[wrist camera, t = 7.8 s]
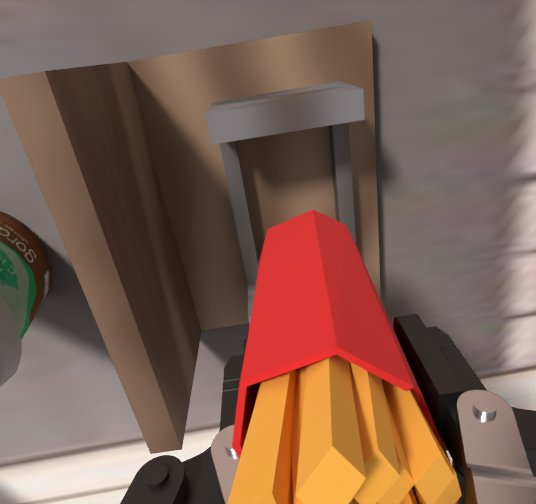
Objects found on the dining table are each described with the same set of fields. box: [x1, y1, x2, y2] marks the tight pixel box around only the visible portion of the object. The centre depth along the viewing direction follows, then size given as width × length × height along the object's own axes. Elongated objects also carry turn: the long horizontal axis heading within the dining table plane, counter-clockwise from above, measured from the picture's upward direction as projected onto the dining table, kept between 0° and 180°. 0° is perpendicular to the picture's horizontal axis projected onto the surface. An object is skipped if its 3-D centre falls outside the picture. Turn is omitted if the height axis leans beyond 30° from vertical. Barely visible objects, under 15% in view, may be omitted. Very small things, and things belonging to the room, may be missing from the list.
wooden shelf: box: [0, 21, 381, 454], centre depth 24 cm, size 17×20×12 cm
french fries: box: [227, 209, 462, 504], centre depth 12 cm, size 9×4×13 cm, turn 26°
